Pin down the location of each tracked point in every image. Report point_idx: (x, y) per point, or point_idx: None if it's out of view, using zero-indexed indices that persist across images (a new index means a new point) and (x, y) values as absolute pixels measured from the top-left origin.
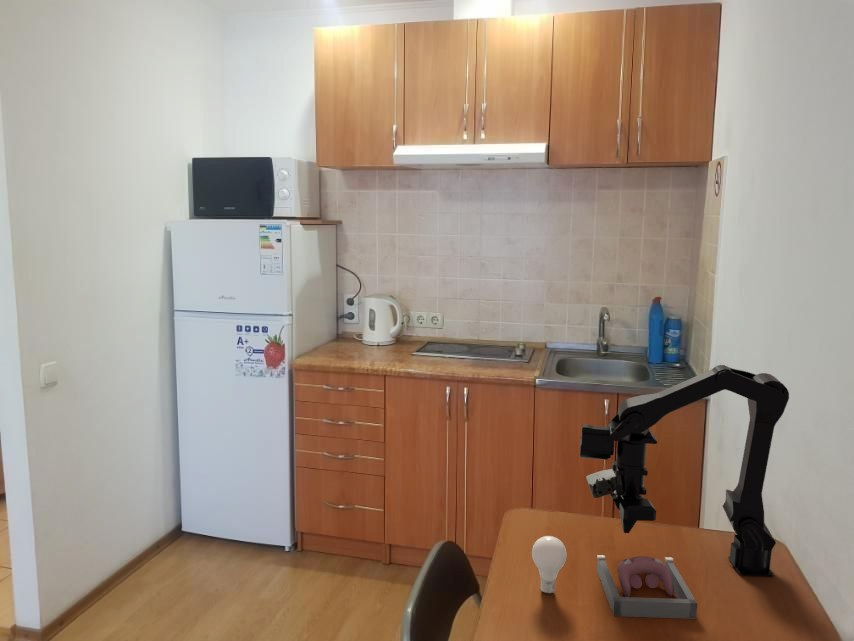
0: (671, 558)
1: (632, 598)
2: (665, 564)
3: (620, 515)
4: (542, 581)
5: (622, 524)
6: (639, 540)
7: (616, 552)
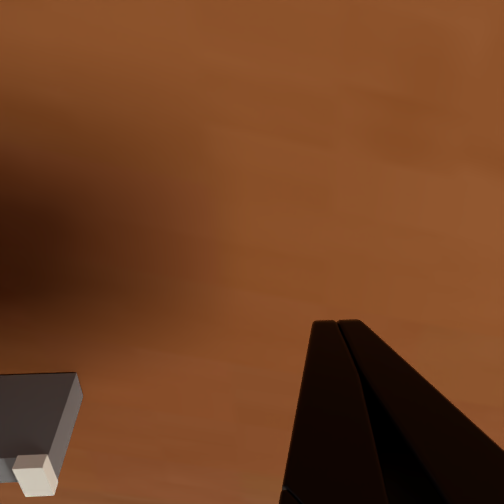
0: (39, 491)
1: None
2: (42, 428)
3: (481, 484)
4: None
5: (350, 388)
6: (461, 328)
7: (320, 154)
